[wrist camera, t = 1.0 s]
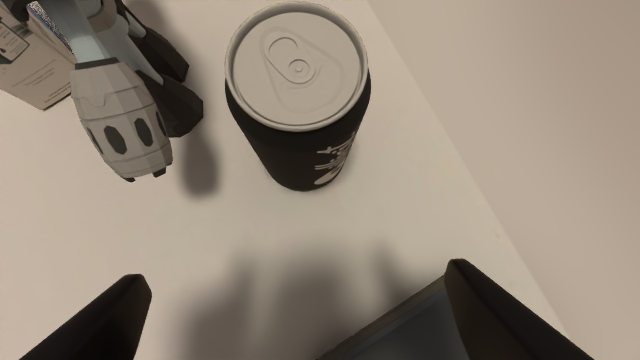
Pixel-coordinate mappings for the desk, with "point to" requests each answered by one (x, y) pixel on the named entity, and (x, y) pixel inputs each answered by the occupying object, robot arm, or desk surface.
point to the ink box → (33, 60)
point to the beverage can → (298, 90)
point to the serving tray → (408, 332)
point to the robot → (123, 83)
